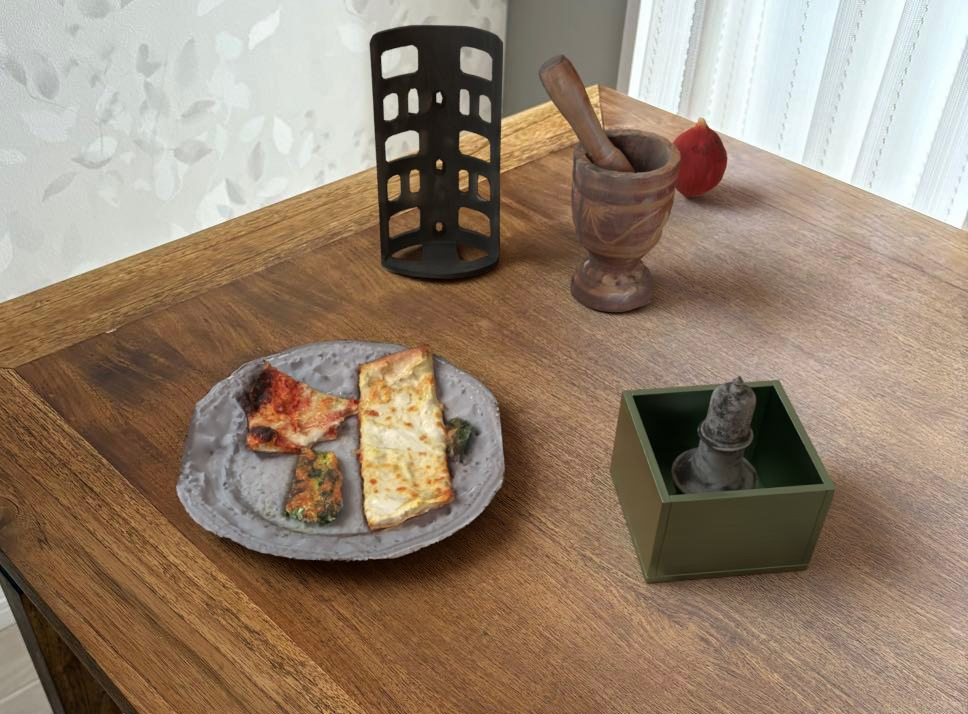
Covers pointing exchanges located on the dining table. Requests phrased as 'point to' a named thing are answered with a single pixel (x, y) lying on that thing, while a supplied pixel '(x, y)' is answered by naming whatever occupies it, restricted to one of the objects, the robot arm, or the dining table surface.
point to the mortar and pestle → (612, 196)
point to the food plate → (342, 451)
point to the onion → (700, 160)
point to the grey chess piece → (720, 445)
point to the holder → (438, 148)
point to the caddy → (717, 515)
